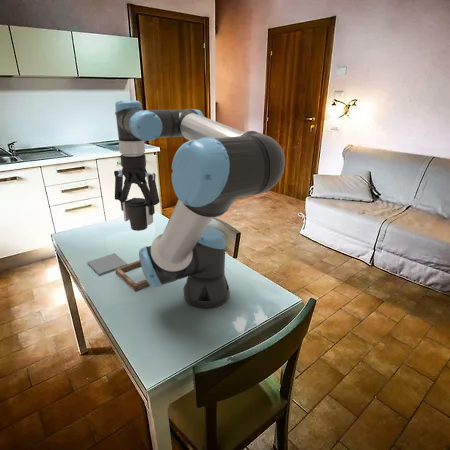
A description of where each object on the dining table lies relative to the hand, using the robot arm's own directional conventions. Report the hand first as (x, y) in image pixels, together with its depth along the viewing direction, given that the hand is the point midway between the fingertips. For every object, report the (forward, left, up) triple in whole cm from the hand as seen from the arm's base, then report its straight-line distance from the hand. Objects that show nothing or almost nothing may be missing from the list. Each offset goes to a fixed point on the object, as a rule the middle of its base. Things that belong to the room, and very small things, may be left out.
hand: (138, 221), depth 108 cm
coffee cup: (0, 0, -2) cm, 2 cm away
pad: (+15, +7, -21) cm, 27 cm away
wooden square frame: (0, 0, -21) cm, 21 cm away
